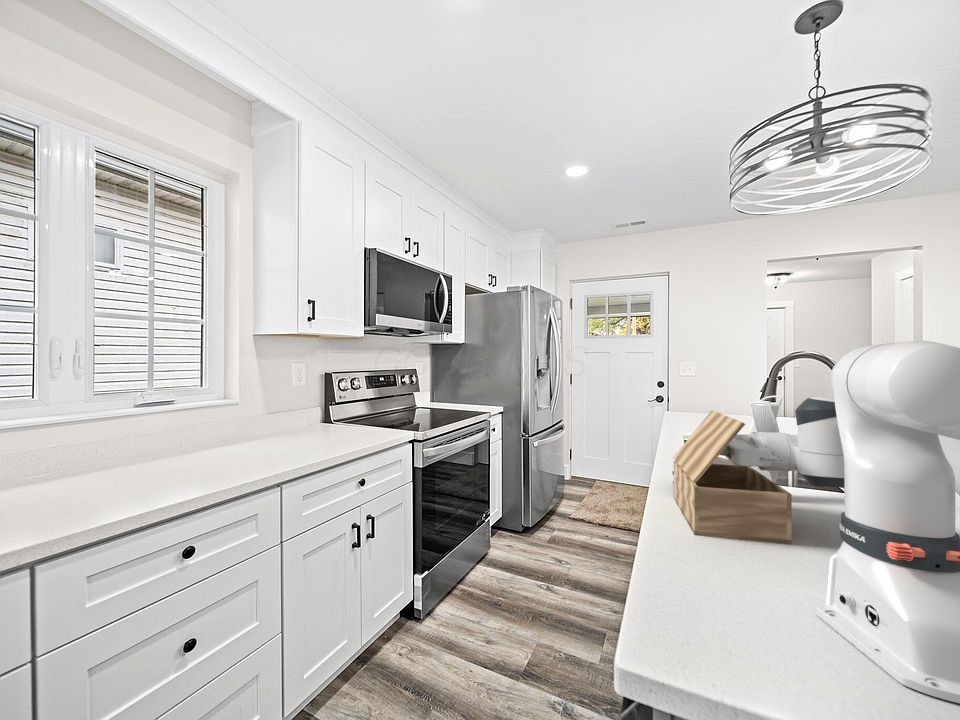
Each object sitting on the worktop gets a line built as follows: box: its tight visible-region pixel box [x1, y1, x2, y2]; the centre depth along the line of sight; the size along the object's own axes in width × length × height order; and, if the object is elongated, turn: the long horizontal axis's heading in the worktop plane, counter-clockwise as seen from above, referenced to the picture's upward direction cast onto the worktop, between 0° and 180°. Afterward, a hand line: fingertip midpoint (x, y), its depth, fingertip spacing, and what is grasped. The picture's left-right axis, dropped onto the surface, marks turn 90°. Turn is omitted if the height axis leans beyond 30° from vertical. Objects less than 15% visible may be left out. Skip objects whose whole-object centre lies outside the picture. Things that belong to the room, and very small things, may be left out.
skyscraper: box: [749, 395, 784, 484], centre depth 119 cm, size 8×8×28 cm
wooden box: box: [673, 460, 793, 545], centre depth 103 cm, size 26×18×10 cm
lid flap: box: [672, 410, 746, 483], centre depth 104 cm, size 25×16×1 cm
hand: (702, 448), depth 105 cm, fingers closed, pressing on lid flap
